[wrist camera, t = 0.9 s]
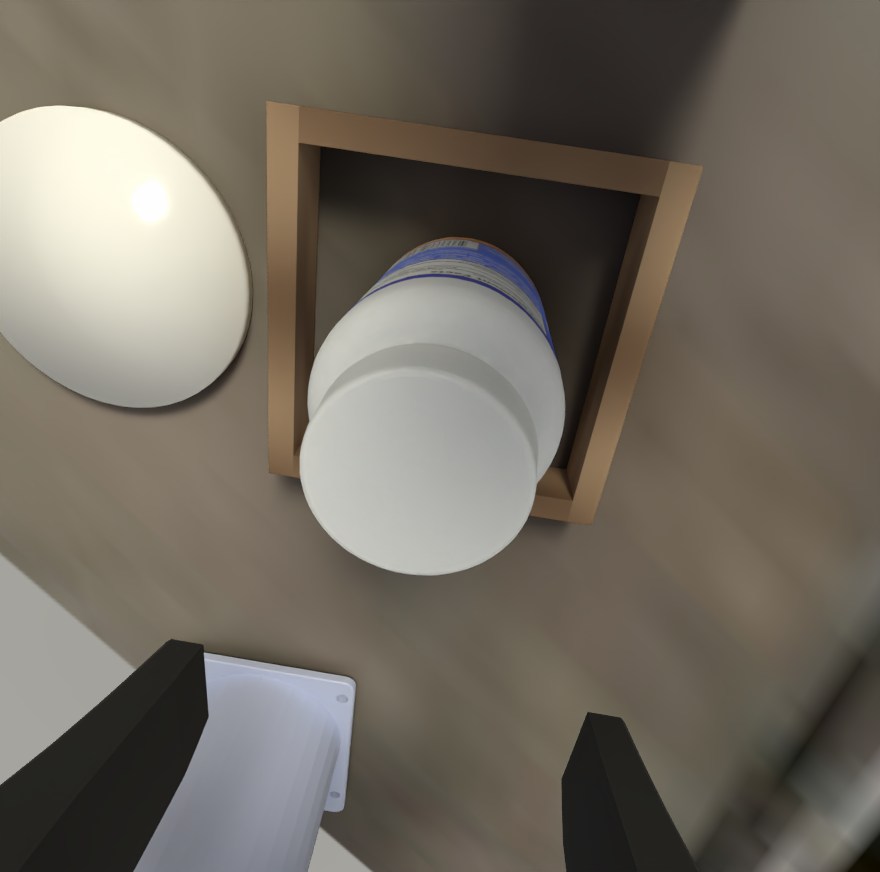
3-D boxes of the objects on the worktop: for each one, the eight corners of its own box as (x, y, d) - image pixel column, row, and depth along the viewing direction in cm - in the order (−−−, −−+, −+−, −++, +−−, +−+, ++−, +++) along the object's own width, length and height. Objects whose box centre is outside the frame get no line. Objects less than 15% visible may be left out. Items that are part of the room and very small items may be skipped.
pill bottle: (494, 428, 20) (489, 652, 11) (347, 360, 19) (220, 542, 10) (578, 282, 17) (656, 424, 9) (412, 199, 17) (318, 261, 8)
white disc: (255, 419, 20) (248, 426, 20) (5, 379, 21) (-8, 385, 20) (250, 131, 16) (241, 131, 16) (-63, 85, 16) (-81, 83, 16)
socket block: (583, 492, 20) (591, 525, 19) (288, 444, 21) (268, 473, 19) (680, 163, 16) (703, 165, 14) (292, 105, 16) (266, 101, 14)
